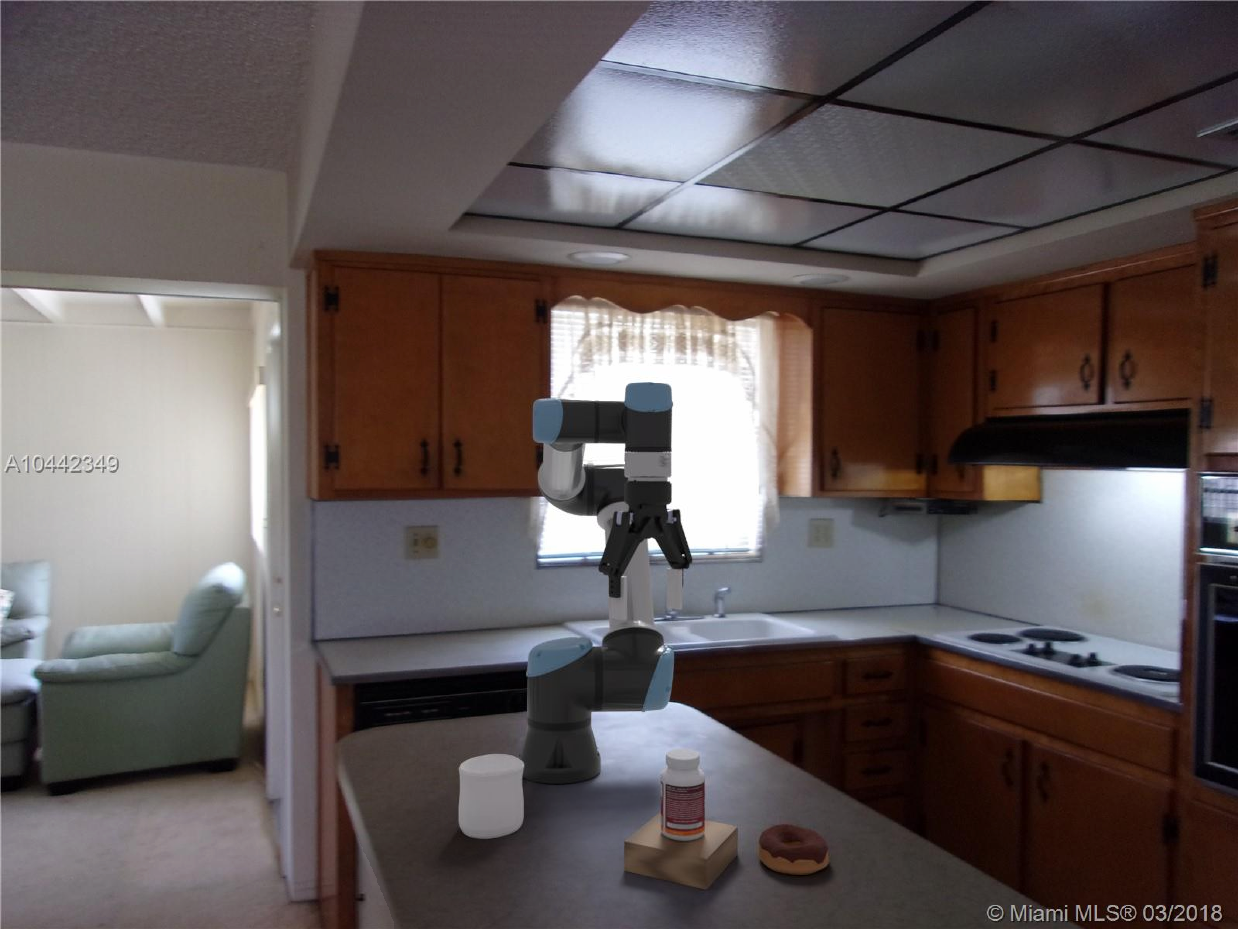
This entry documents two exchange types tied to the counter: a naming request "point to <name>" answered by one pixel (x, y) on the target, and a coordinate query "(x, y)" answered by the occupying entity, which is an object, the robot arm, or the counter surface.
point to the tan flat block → (681, 854)
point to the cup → (491, 796)
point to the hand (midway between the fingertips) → (647, 613)
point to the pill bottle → (682, 796)
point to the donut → (793, 850)
